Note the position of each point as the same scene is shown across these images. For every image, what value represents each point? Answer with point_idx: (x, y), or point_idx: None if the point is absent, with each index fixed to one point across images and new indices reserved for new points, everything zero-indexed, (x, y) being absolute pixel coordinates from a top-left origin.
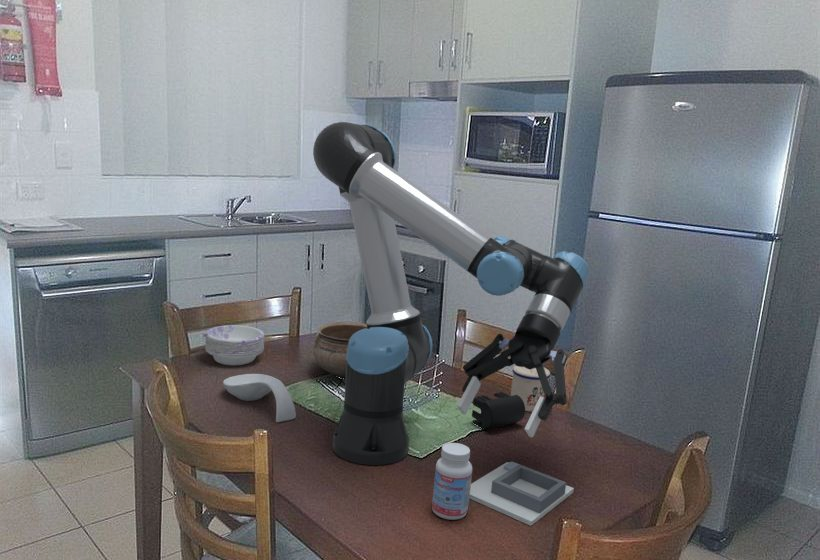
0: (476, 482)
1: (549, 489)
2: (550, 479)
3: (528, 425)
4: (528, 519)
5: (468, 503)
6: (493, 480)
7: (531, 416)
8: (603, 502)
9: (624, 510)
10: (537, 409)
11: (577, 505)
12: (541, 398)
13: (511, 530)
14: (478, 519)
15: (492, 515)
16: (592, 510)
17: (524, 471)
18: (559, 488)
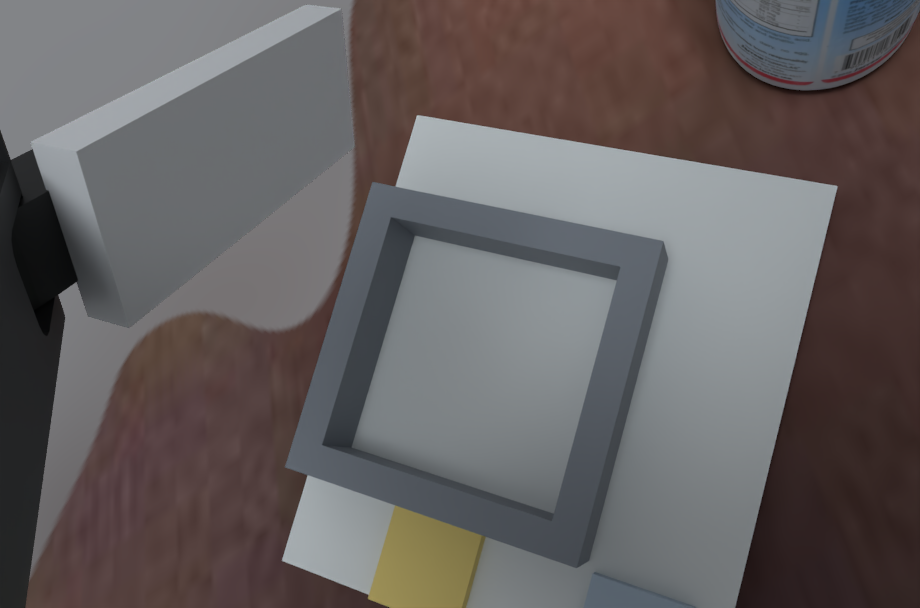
0: (788, 327)
1: (353, 332)
2: (366, 459)
3: (299, 18)
4: (432, 121)
5: (719, 12)
6: (659, 250)
7: (252, 47)
8: (161, 527)
9: (81, 498)
10: (167, 77)
11: (265, 428)
12: (69, 133)
13: (492, 42)
14: (653, 32)
15: (604, 104)
16: (202, 418)
17: (530, 511)
18: (312, 385)
